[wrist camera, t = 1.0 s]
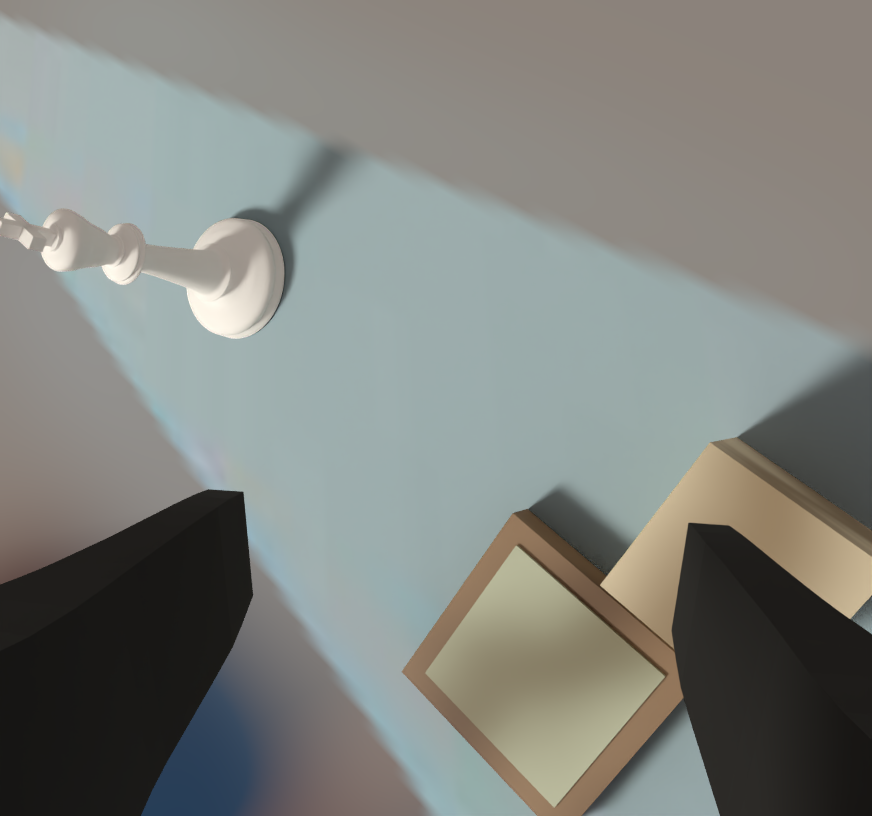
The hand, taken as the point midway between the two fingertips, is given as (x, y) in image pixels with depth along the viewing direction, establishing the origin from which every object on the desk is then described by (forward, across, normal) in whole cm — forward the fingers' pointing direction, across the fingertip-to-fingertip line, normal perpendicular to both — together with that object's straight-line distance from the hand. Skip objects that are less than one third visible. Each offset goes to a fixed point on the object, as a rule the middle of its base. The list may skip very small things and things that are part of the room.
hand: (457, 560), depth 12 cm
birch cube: (+9, -8, +5) cm, 13 cm away
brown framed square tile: (+9, -2, +10) cm, 14 cm away
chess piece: (+19, +11, 0) cm, 22 cm away
